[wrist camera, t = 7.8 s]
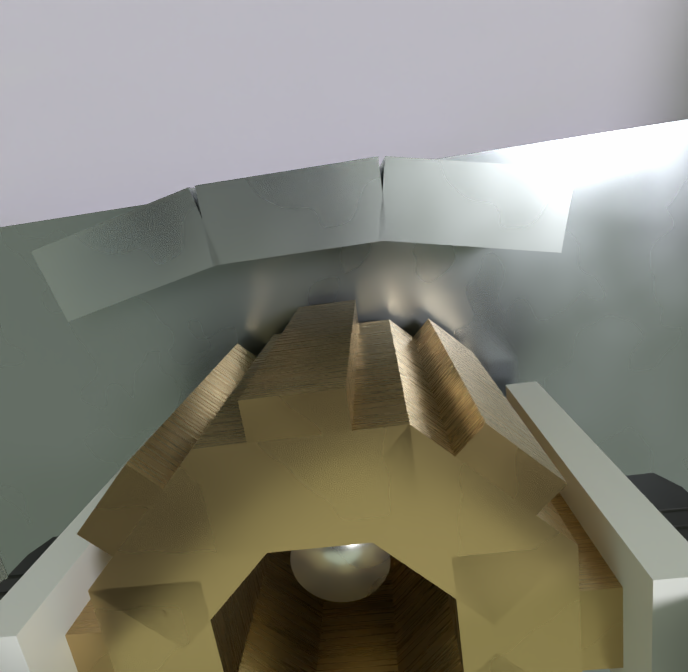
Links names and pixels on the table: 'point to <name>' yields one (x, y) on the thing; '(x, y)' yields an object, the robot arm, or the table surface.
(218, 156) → the table surface
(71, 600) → the robot arm
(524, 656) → the gear
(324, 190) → the carrier
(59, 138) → the table surface
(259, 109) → the table surface
